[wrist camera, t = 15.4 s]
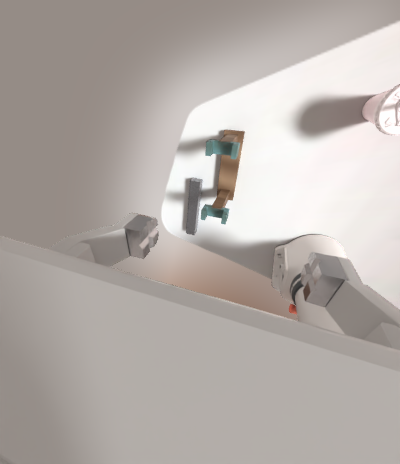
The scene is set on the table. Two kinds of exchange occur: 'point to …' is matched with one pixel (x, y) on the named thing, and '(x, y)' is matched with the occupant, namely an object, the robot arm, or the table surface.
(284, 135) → the table surface
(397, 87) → the smoothie
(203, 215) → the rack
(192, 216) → the rail
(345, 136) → the table surface
